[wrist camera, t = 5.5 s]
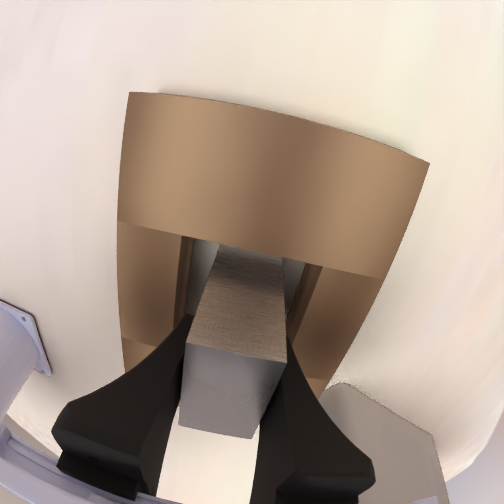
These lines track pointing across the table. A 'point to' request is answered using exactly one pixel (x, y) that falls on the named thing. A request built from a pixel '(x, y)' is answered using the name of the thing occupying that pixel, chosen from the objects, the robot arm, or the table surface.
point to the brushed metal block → (235, 344)
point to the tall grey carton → (387, 448)
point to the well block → (256, 216)
